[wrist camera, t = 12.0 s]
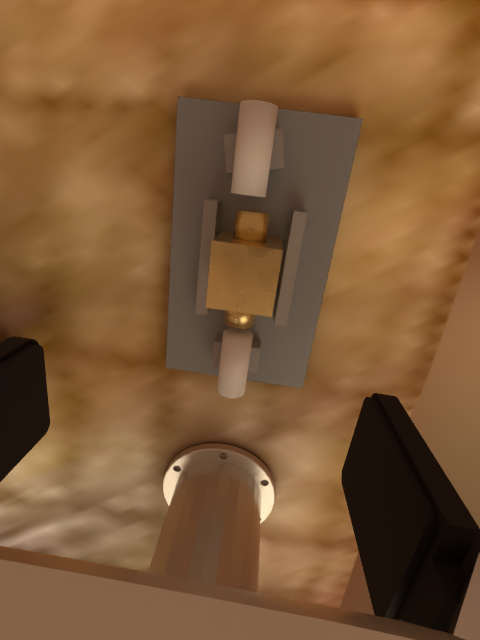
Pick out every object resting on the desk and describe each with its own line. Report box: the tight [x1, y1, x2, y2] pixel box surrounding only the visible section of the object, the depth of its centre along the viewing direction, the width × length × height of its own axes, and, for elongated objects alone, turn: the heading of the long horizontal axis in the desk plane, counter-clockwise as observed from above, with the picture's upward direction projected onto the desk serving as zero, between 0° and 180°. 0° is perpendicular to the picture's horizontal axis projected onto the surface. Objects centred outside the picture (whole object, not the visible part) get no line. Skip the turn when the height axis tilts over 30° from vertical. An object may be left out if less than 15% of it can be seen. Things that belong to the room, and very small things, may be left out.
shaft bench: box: [166, 96, 363, 398], centre depth 26 cm, size 22×13×5 cm, turn 173°
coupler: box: [206, 209, 283, 329], centre depth 25 cm, size 8×5×6 cm, turn 173°
